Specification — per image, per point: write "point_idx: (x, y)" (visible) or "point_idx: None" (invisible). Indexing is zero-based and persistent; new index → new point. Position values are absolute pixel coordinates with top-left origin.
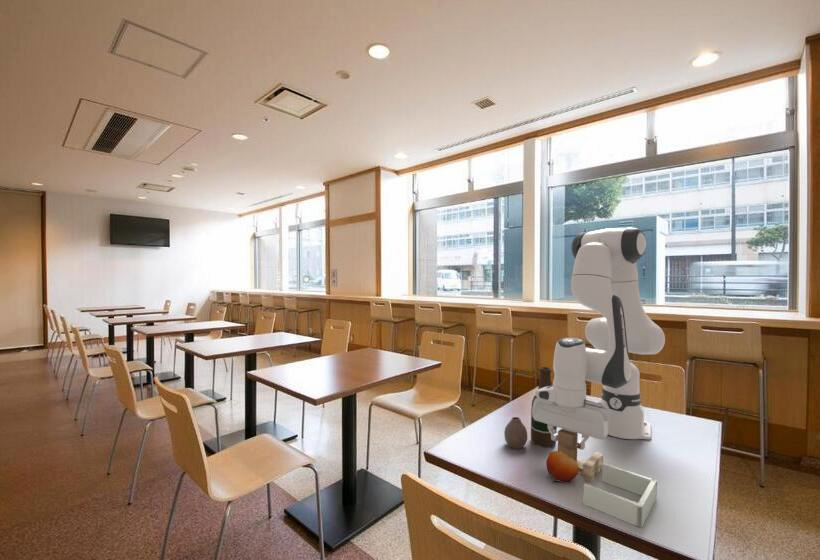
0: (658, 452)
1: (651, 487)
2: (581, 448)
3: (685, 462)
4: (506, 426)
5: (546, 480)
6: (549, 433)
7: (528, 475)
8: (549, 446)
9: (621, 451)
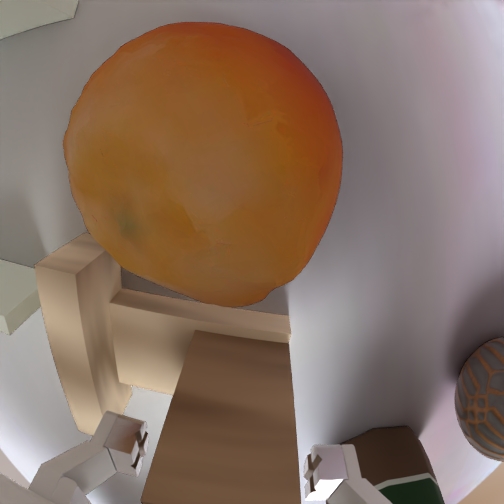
0: None
1: None
2: (110, 416)
3: (24, 457)
4: None
5: None
6: None
7: (404, 81)
8: (347, 442)
9: (125, 483)
